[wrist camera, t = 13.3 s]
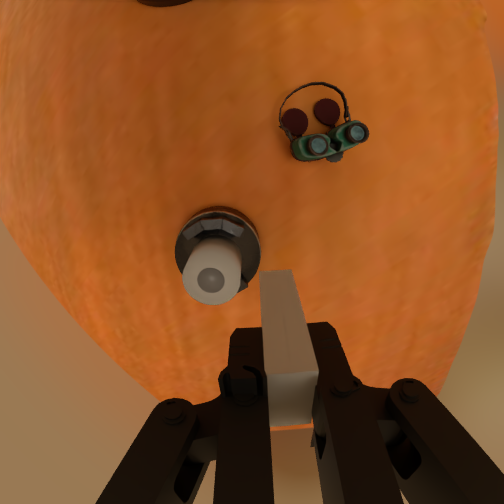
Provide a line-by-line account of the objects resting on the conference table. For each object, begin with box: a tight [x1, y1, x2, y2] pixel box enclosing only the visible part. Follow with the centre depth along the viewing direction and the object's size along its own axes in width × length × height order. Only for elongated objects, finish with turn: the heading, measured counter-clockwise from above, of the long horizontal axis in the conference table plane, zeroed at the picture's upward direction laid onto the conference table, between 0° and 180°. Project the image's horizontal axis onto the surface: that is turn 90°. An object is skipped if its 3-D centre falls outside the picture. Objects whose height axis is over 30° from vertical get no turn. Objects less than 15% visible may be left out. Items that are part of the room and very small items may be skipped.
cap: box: [182, 235, 242, 305], centre depth 35 cm, size 6×6×6 cm
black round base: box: [175, 206, 261, 293], centre depth 39 cm, size 11×11×6 cm
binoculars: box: [279, 82, 369, 162], centre depth 30 cm, size 9×11×10 cm
